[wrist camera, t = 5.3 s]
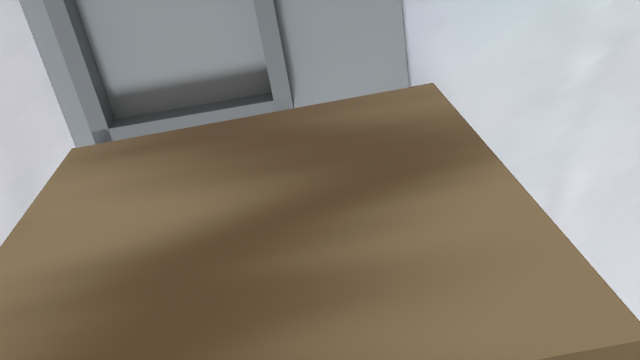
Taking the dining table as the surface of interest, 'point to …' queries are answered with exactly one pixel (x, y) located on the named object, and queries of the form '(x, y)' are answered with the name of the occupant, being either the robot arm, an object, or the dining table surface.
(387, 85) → the board
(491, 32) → the dining table surface
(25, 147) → the dining table surface
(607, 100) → the dining table surface
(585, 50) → the dining table surface
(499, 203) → the oak block
